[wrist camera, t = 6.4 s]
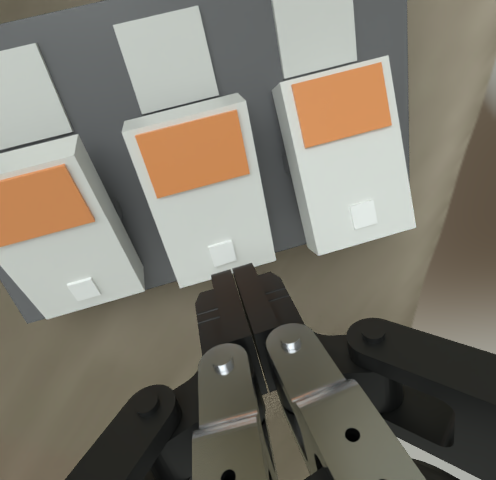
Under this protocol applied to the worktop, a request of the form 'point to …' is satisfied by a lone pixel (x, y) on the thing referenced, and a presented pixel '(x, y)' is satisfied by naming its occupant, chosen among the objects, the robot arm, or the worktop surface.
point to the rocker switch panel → (181, 87)
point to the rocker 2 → (345, 154)
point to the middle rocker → (203, 186)
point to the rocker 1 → (63, 230)
